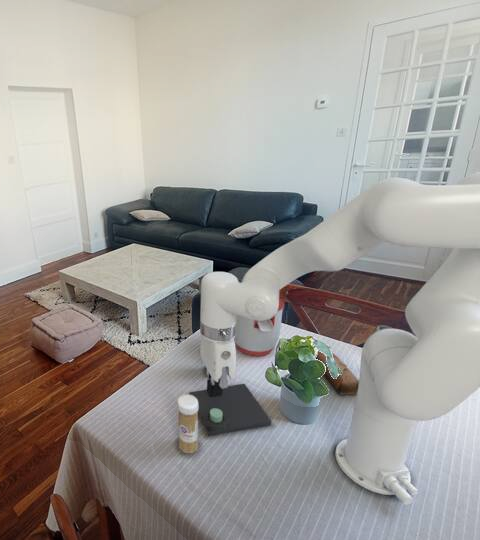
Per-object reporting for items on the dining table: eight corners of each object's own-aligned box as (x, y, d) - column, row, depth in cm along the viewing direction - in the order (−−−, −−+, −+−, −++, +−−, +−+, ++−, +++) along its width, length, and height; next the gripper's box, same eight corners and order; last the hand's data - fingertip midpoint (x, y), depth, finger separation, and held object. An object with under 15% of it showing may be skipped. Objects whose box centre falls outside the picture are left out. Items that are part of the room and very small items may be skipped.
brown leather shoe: (370, 392, 89) (360, 375, 87) (344, 404, 91) (334, 387, 89) (332, 352, 106) (323, 337, 104) (311, 363, 107) (302, 348, 106)
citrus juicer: (238, 365, 105) (241, 308, 97) (224, 335, 121) (225, 284, 114) (289, 363, 104) (296, 305, 96) (268, 332, 120) (273, 281, 113)
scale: (271, 427, 82) (272, 417, 81) (208, 438, 80) (208, 428, 79) (244, 387, 95) (244, 378, 94) (189, 396, 94) (189, 387, 93)
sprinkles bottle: (176, 451, 78) (174, 405, 73) (181, 435, 82) (180, 391, 77) (196, 457, 76) (195, 410, 71) (200, 441, 80) (200, 396, 75)
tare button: (224, 421, 81) (224, 416, 81) (212, 423, 81) (212, 418, 80) (219, 412, 84) (219, 407, 83) (207, 414, 84) (207, 409, 83)
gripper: (250, 344, 67) (244, 415, 74) (220, 309, 81) (217, 372, 87) (214, 349, 66) (211, 420, 73) (190, 313, 80) (189, 376, 87)
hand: (214, 394), depth 80 cm, fingers closed
